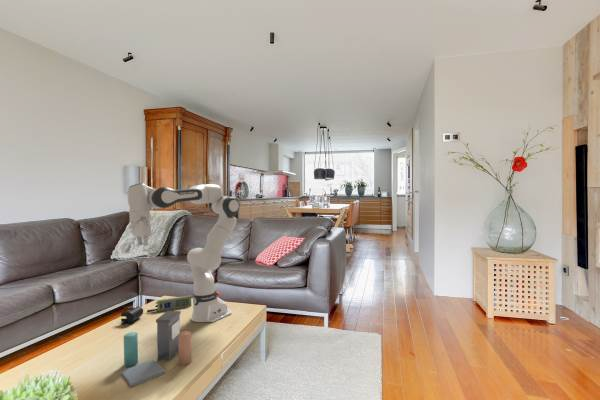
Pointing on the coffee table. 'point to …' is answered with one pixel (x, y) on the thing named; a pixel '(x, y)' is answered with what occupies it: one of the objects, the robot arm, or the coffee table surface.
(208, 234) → the robot arm
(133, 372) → the mat
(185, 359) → the terracotta canister
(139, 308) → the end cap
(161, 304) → the handheld radio
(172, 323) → the block
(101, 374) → the coffee table surface
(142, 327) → the coffee table surface
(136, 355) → the teal canister
